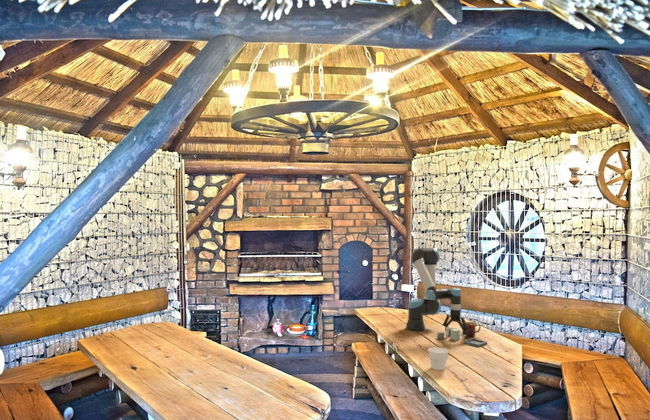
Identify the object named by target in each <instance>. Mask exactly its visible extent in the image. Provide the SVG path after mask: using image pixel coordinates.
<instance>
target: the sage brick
mask: <svg viewBox="0 0 650 420" xmlns="http://www.w3.org/2000/svg"><path fill="white" fill-rule="evenodd" d="M449 337H450V340H453V341H458V339H459V340H460V339H461V329H451V330H450V335H449Z"/></svg>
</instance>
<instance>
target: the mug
mask: <svg viewBox="0 0 650 420" xmlns="http://www.w3.org/2000/svg"><path fill="white" fill-rule="evenodd" d="M465 322H466V325H467V328H468V330H466V334H465V336H466V338H470V337H472V338H475V337H476V333H478V332H480V331H481V325H480V324H478V323H476V322H473V321H465ZM476 327H479V328H478V330H476Z"/></svg>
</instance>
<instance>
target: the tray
mask: <svg viewBox="0 0 650 420" xmlns="http://www.w3.org/2000/svg"><path fill="white" fill-rule="evenodd" d="M463 344H465V345H467V344H468V346H472V347H477V348H480V347H482V346H485V345H488V341H486V340H482V339H476V338H475V337H472V338H469V339H466V340H465V339H464V340H463Z"/></svg>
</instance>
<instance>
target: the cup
mask: <svg viewBox="0 0 650 420" xmlns="http://www.w3.org/2000/svg"><path fill="white" fill-rule="evenodd" d="M448 357H449V349H447V348H444V347H437V346H436V347H434V346H433V347H430V348H428V358H429V360H430V365H431V367H430V368H431V369H433V370H435V371H436V370H437V371H443V370H445V369H446V363H447V359H448Z"/></svg>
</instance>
